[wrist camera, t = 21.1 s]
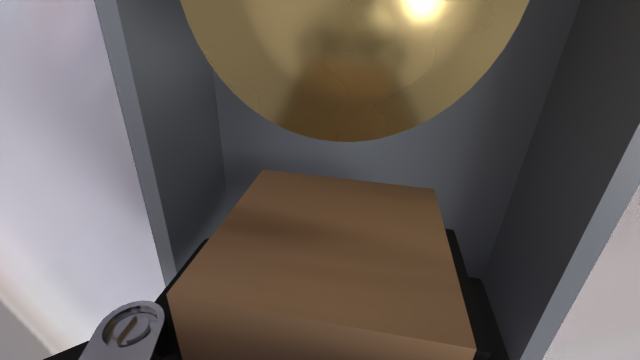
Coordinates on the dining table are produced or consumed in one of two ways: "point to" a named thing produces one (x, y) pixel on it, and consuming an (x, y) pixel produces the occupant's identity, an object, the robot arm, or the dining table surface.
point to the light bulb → (351, 58)
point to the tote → (414, 150)
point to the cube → (324, 277)
